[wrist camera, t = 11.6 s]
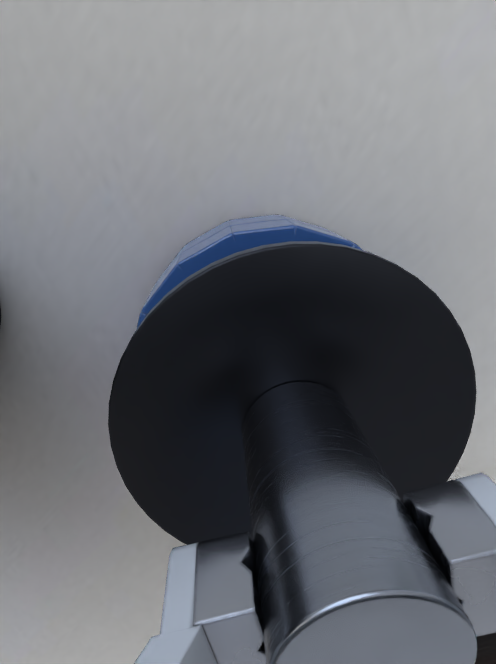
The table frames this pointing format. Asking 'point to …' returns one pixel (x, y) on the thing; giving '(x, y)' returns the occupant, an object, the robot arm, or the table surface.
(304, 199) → the table surface
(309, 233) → the bottle cap
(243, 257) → the lid
